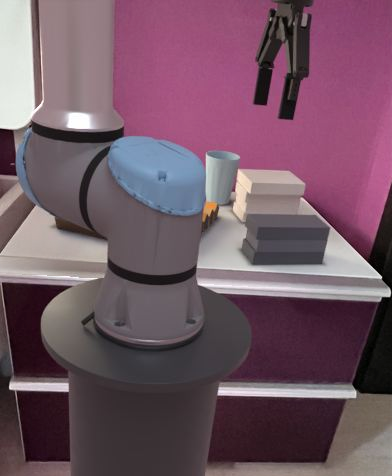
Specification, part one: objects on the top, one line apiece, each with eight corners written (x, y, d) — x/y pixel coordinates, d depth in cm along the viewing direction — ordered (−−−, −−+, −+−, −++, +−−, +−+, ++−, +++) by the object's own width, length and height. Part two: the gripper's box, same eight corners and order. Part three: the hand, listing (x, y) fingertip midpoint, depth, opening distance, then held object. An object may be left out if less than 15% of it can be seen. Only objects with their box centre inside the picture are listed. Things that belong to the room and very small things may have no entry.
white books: (241, 222, 120) (246, 192, 116) (232, 210, 125) (236, 181, 122) (296, 223, 123) (302, 193, 119) (284, 211, 129) (290, 183, 125)
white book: (250, 194, 115) (252, 182, 114) (236, 179, 123) (238, 168, 122) (303, 195, 118) (306, 184, 117) (287, 181, 126) (289, 170, 125)
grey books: (251, 264, 102) (258, 226, 98) (240, 249, 107) (246, 213, 103) (322, 264, 106) (331, 227, 102) (308, 249, 111) (316, 214, 107)
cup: (227, 195, 134) (233, 150, 129) (238, 206, 128) (245, 160, 123) (197, 195, 132) (201, 150, 126) (207, 206, 126) (212, 159, 120)
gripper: (349, -19, 86) (317, 127, 97) (288, -20, 106) (267, 101, 117) (305, -26, 84) (277, 124, 95) (250, -26, 104) (233, 98, 115)
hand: (271, 111), depth 106 cm, fingers open, 13 cm apart
